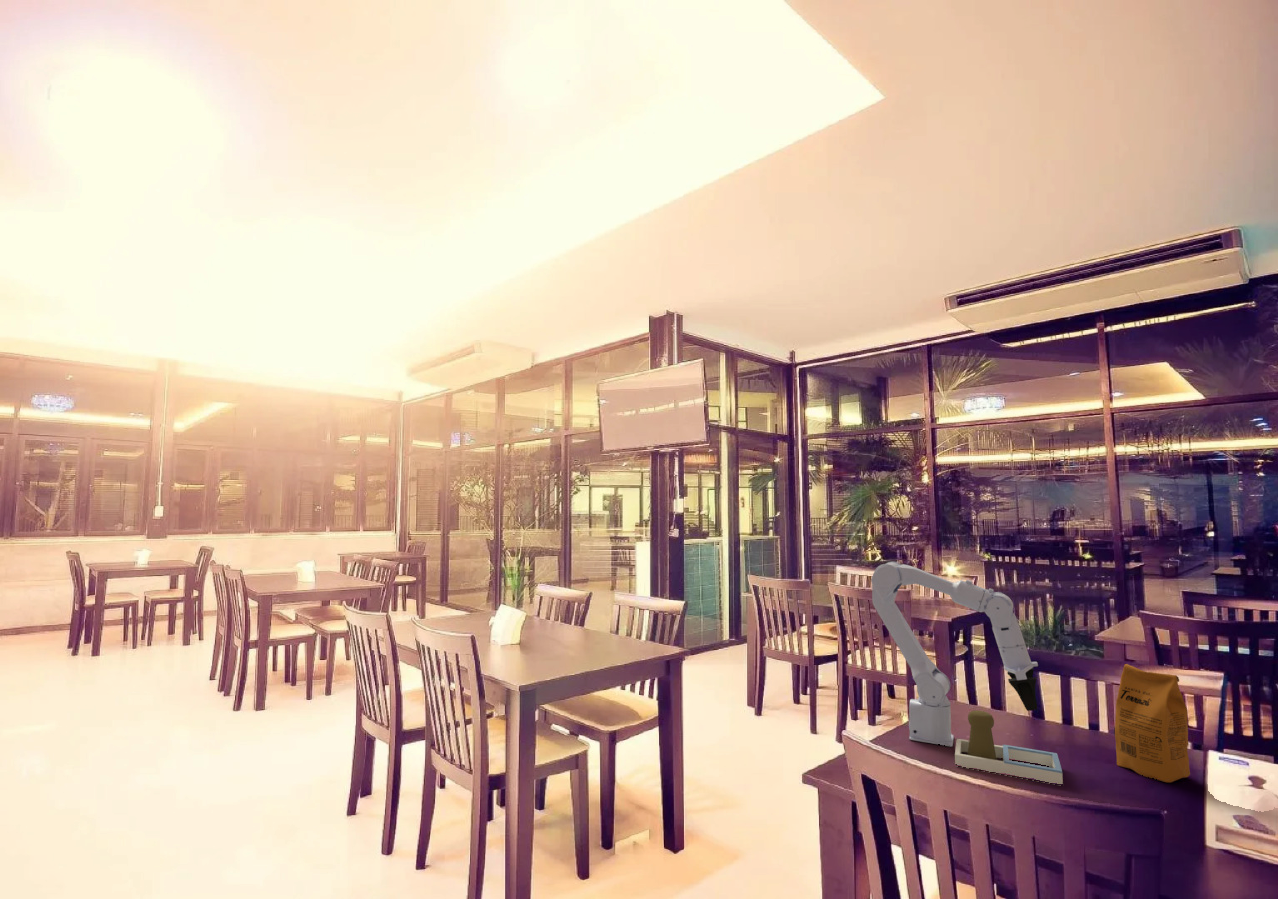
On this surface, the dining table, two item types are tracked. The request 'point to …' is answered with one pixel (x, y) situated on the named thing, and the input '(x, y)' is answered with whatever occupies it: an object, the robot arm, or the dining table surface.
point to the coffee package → (1151, 725)
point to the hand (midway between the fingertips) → (1031, 705)
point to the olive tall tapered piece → (981, 735)
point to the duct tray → (1013, 762)
